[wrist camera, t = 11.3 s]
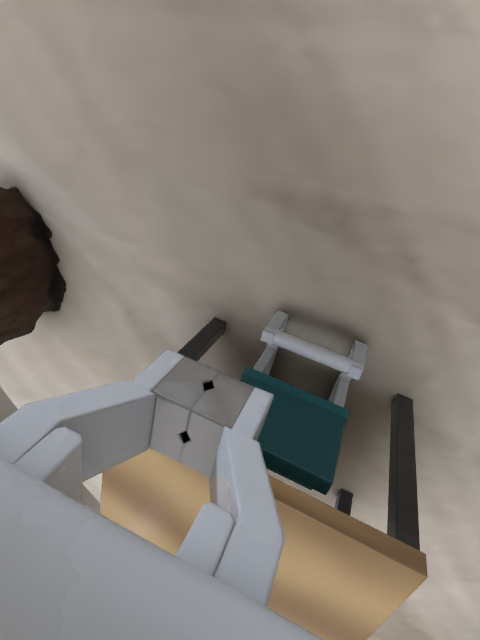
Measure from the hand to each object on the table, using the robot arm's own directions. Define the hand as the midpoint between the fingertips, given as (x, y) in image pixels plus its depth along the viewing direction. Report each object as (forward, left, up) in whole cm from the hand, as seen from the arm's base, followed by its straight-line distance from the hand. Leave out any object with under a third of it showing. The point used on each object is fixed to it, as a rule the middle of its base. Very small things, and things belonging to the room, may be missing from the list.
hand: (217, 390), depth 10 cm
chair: (+14, +2, -20) cm, 24 cm away
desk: (+17, +2, -20) cm, 26 cm away
